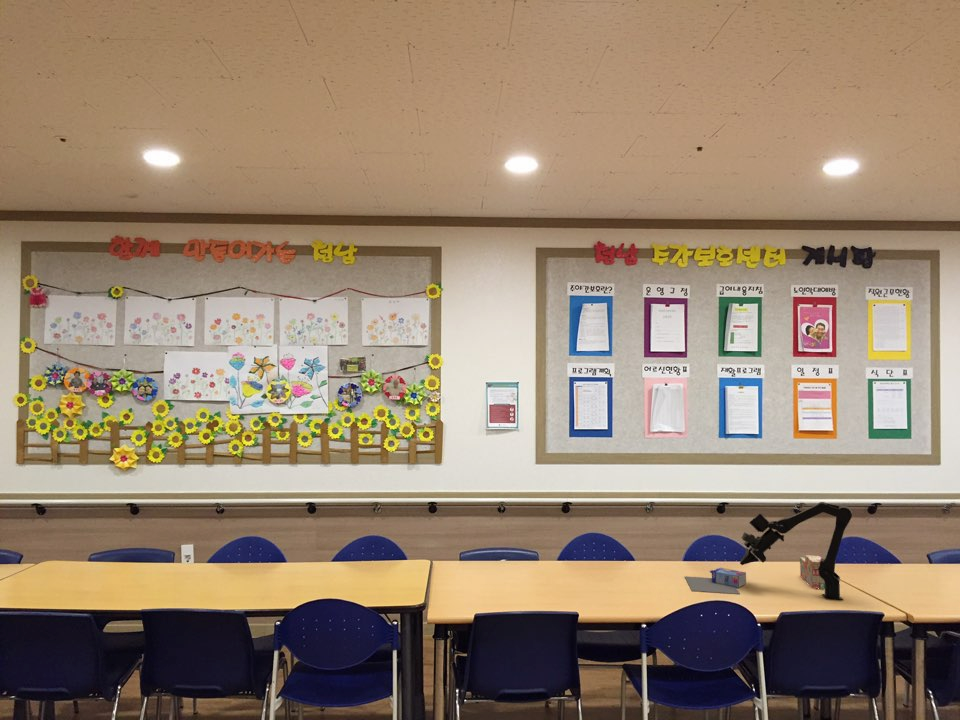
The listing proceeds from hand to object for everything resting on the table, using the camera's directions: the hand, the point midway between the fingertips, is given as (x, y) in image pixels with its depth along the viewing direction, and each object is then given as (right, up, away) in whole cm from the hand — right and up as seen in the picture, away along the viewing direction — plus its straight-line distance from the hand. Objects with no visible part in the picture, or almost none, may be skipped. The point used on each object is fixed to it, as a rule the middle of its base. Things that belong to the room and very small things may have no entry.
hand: (740, 564), depth 298 cm
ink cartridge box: (+1, -7, +1) cm, 7 cm away
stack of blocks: (+37, -12, +9) cm, 40 cm away
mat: (-13, -10, +2) cm, 16 cm away
